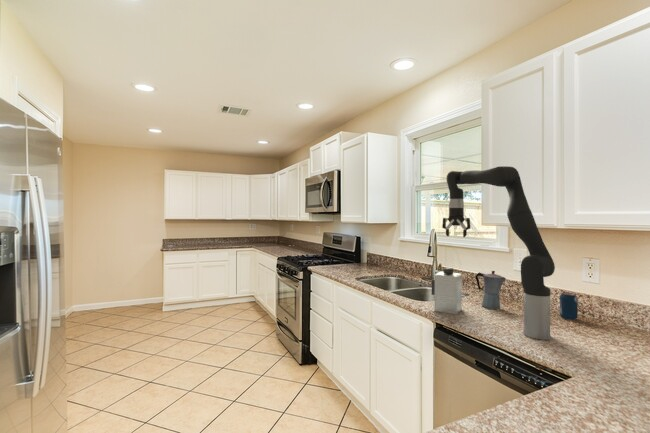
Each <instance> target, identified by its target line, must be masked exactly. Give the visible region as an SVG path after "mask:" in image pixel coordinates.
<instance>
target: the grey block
mask: <svg viewBox="0 0 650 433" xmlns="http://www.w3.org/2000/svg"><path fill="white" fill-rule="evenodd" d="M462 292H463V273H460V272H459V273H458V272H454V274H450V275H449V274H445V273H443V271H439V272H437V273H434V279H431V295H432V296H434V306H433V307H434V311H433V312H439V313H444V314H450V315H457V316H458V314H459V313H460V312H461V311H462V310H463V308H462V307H463V300H462V299H463V296H462V295H463V293H462Z"/></svg>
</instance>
